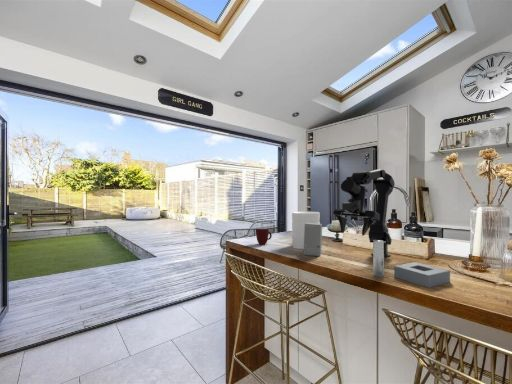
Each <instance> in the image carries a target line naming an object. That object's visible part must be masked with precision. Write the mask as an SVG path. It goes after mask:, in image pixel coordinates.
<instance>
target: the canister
mask: <svg viewBox="0 0 512 384" xmlns="http://www.w3.org/2000/svg"><path fill="white" fill-rule="evenodd" d="M320 215H321V214H320V212H319V211H292V212H291V246H293V247H292V248H294V249H298V250H304V231H305V223H316V224H321V223H320V218H321V217H320Z"/></svg>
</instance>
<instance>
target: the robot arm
mask: <svg viewBox="0 0 512 384" xmlns="http://www.w3.org/2000/svg"><path fill="white" fill-rule="evenodd" d="M371 183H373V185H374V187H375V188H374V190H375V192H376V193H377V201H376V207H375V210H365V211H364V208H365V207H364V206H366V202H365V201H366V200H365V199H366V193H368V192H369V190H368V188H367V187H366V186H364V185H369V184H371ZM394 187H395V180H394V178H393V176H392V175H390V174H388V173H387V172H386V171H385V170H384V169H380V168H379V169H374V170H371V171H357V172H352V174H351V176H347V177H346V179H345V180H343V181H342V183H341V184H340V189H341V191H343V192H344V193H346V194H347V195H349V196H350V198H349V199H348V202H346V201H345V202H341V208H334V209H333V210H332V215H333V216H334V217H335V218H337V220H338V222H339V226H340V231H341V233H342V234H344V232H345V229H346V226H347V225H346V224H347V221H348V218H347V217H355V218H356V217H359V218H362V219H363V224H362V231H361V236H365V235H366V233H367V232H368V240H369V243H372V244H373V240H382V241H384V258H387V257H391V254H388V245H389V246H390V245H392V238H391V235H390V232H389V228H388V227H387V224H386V220H387V213H388V212H387V211H388V205H389V204H388V202H389V196H390V195H391V194H392V192H393V190H394ZM370 255H371V256H373V252H372V253H370Z"/></svg>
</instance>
